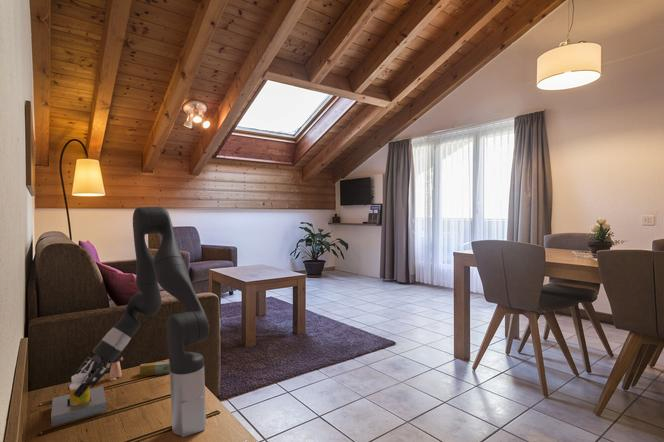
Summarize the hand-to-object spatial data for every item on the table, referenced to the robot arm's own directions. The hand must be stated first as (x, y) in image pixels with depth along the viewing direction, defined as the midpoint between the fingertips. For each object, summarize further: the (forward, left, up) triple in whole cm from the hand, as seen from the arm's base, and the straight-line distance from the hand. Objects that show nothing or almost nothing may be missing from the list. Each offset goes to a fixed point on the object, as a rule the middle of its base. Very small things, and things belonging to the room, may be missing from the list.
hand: (73, 393), depth 120 cm
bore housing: (+1, -1, -6) cm, 6 cm away
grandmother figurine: (+21, -13, -6) cm, 26 cm away
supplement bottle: (0, -2, -5) cm, 5 cm away
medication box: (+16, -27, -6) cm, 32 cm away
